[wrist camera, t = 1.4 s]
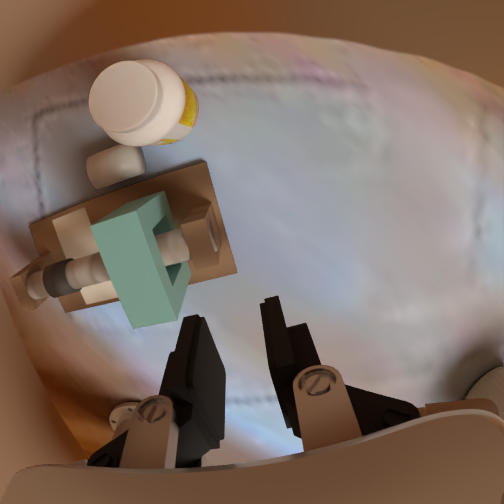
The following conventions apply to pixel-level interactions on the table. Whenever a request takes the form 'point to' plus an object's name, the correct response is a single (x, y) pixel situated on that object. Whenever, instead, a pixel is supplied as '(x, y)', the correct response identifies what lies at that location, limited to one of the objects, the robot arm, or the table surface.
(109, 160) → the sleeve
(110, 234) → the collar
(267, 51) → the table surface
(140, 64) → the supplement bottle
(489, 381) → the canister
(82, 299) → the pipe rig
